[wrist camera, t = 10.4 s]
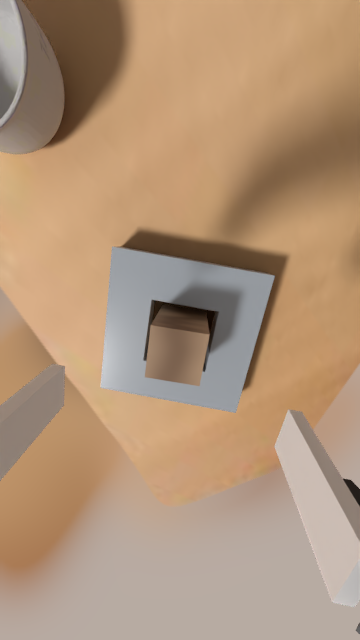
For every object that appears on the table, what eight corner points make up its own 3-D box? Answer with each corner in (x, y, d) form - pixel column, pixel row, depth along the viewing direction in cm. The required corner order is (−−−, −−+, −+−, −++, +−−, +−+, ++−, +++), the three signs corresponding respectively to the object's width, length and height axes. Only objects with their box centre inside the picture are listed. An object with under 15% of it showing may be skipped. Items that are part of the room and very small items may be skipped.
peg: (205, 310, 28) (209, 334, 20) (198, 350, 29) (199, 386, 21) (163, 303, 28) (150, 325, 20) (158, 343, 29) (144, 377, 22)
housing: (266, 272, 26) (274, 275, 23) (231, 397, 31) (235, 412, 28) (121, 246, 26) (112, 246, 23) (109, 374, 31) (100, 387, 28)
